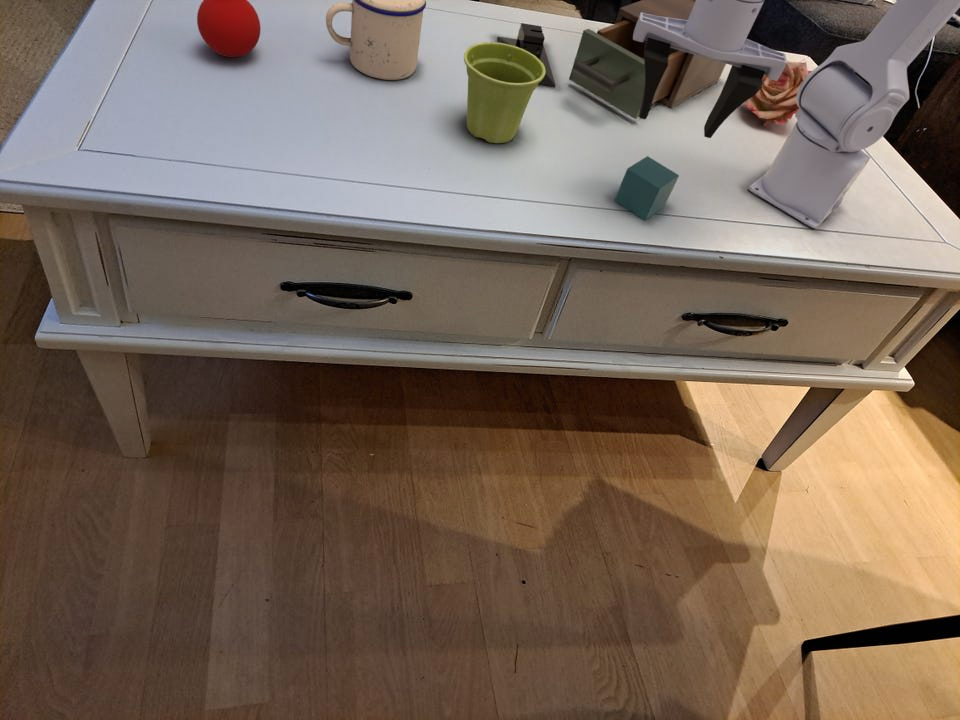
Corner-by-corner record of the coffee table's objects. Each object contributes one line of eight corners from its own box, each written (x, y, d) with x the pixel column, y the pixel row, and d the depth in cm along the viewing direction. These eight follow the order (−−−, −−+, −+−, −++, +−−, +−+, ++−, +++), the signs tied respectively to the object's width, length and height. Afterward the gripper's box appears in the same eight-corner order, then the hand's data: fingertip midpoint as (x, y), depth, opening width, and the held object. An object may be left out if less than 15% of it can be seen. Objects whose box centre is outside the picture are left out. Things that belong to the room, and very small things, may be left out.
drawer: (616, 129, 88) (635, 79, 83) (548, 88, 92) (562, 37, 87) (684, 92, 99) (704, 46, 94) (620, 56, 103) (637, 10, 98)
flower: (758, 81, 104) (762, 43, 97) (820, 95, 101) (829, 58, 93) (731, 134, 103) (732, 100, 96) (792, 150, 100) (799, 117, 92)
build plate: (555, 89, 95) (564, 56, 91) (503, 82, 93) (511, 48, 90) (542, 45, 102) (550, 13, 99) (494, 38, 101) (501, 5, 97)
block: (664, 206, 81) (679, 175, 77) (645, 220, 78) (659, 188, 75) (634, 187, 82) (647, 155, 79) (614, 200, 80) (627, 168, 76)
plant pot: (472, 156, 80) (486, 86, 73) (440, 111, 85) (451, 42, 78) (540, 148, 84) (560, 81, 77) (506, 106, 89) (522, 40, 82)
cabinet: (670, 108, 97) (696, 48, 91) (600, 67, 101) (619, 7, 95) (717, 82, 105) (744, 26, 99) (650, 45, 110) (671, -11, 103)
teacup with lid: (409, 48, 94) (419, -44, 85) (425, 83, 89) (437, -11, 80) (320, 44, 90) (321, -53, 81) (330, 80, 85) (333, -19, 76)
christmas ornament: (210, 70, 81) (200, -19, 74) (193, 41, 85) (182, -47, 77) (269, 66, 84) (266, -20, 77) (251, 37, 88) (246, -47, 80)
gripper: (806, -6, 65) (739, 123, 75) (658, -48, 65) (611, 87, 75) (816, 24, 60) (742, 157, 70) (656, -22, 60) (606, 118, 70)
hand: (674, 123), depth 72 cm, fingers open, 6 cm apart
